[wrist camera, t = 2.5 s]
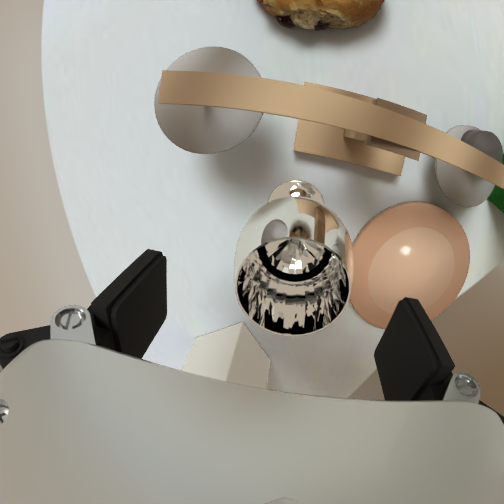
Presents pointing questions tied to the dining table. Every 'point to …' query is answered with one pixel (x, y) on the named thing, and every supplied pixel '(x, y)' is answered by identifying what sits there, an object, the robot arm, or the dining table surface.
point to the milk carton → (498, 195)
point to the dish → (408, 261)
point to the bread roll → (321, 12)
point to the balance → (318, 123)
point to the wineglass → (294, 263)
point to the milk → (229, 357)
